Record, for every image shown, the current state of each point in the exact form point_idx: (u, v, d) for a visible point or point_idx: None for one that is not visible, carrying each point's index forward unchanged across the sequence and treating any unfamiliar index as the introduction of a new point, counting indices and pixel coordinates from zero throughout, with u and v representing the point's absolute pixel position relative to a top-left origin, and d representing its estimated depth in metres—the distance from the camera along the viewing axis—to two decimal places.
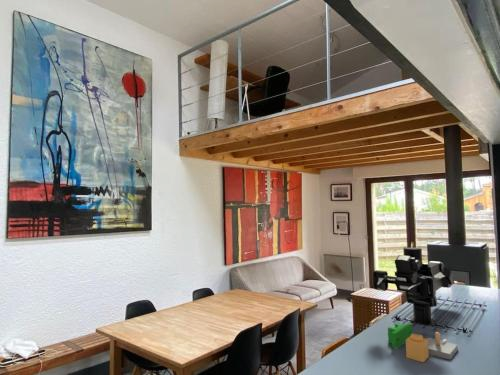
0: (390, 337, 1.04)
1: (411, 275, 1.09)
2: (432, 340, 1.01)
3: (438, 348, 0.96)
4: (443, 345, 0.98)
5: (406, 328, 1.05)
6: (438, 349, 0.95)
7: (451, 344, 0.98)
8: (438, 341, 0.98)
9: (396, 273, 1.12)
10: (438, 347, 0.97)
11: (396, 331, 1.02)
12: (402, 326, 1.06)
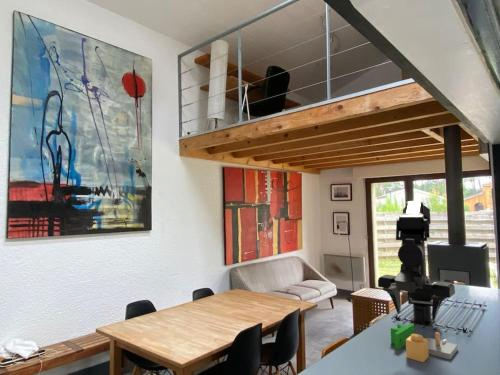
0: (393, 338, 1.04)
1: None
2: (432, 340, 1.01)
3: (438, 348, 0.96)
4: (443, 345, 0.98)
5: (409, 329, 1.05)
6: (438, 349, 0.95)
7: (451, 344, 0.98)
8: (438, 341, 0.98)
9: None
10: (438, 347, 0.97)
11: (399, 332, 1.01)
12: (405, 327, 1.05)
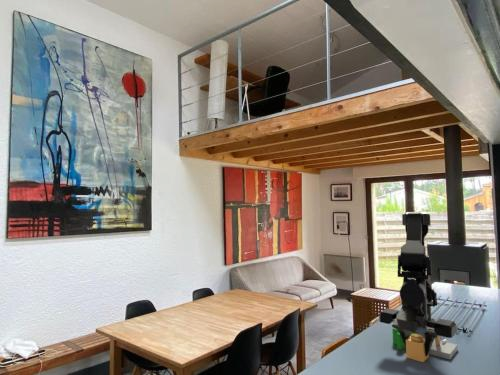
0: (395, 338, 1.03)
1: None
2: None
3: (438, 348, 0.96)
4: (443, 345, 0.98)
5: None
6: (438, 349, 0.95)
7: (451, 344, 0.98)
8: (438, 341, 0.98)
9: None
10: (438, 347, 0.97)
11: None
12: None
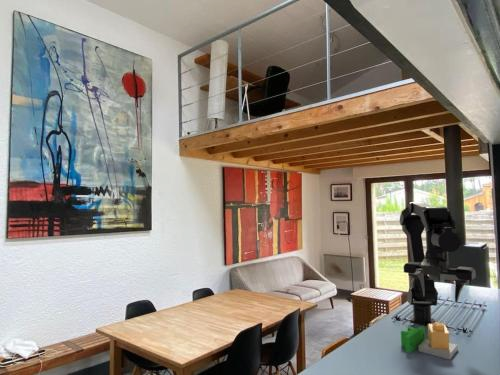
0: (403, 341, 1.01)
1: None
2: None
3: (438, 348, 0.96)
4: None
5: (419, 331, 1.02)
6: (438, 349, 0.95)
7: (451, 344, 0.98)
8: None
9: None
10: None
11: (410, 335, 0.99)
12: (416, 330, 1.03)
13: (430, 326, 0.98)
